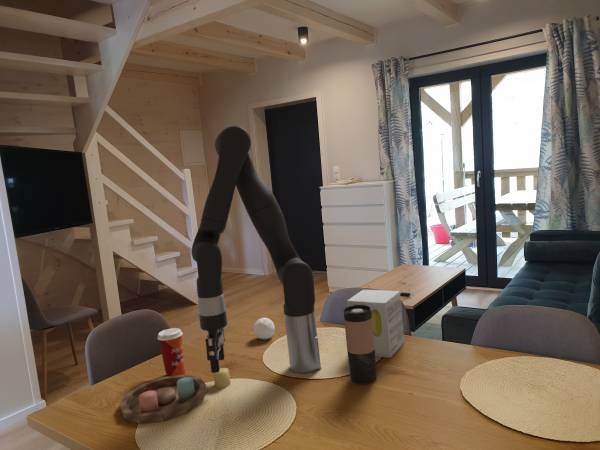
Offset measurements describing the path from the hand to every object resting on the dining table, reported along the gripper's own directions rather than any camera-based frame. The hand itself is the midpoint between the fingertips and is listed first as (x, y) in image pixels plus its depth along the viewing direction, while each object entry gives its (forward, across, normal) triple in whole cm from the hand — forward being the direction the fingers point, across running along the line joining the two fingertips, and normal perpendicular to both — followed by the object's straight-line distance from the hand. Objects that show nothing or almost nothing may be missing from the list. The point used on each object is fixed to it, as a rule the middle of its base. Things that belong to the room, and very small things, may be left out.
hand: (218, 365), depth 128 cm
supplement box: (+6, +16, -49) cm, 52 cm away
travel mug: (+6, -4, -41) cm, 41 cm away
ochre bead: (+7, 0, -1) cm, 7 cm away
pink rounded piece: (+6, -12, +16) cm, 21 cm away
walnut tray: (+7, -6, +14) cm, 17 cm away
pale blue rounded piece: (+6, -6, +8) cm, 12 cm away
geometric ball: (+6, +36, -10) cm, 38 cm away
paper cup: (+7, +13, +16) cm, 22 cm away
